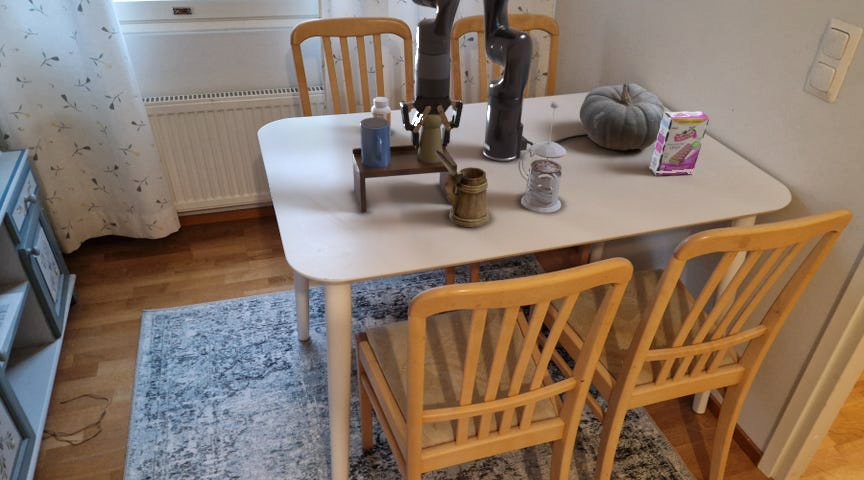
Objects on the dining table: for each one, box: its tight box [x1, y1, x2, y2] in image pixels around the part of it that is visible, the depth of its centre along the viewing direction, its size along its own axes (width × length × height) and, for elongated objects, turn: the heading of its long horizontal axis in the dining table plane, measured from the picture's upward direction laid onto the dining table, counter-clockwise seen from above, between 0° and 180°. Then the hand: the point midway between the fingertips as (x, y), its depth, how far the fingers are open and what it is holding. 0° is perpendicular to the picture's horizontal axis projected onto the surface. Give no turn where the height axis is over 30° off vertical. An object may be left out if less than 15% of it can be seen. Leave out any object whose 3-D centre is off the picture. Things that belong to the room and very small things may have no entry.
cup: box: [359, 117, 391, 167], centre depth 139 cm, size 6×8×9 cm
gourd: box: [579, 82, 665, 151], centre depth 183 cm, size 25×25×17 cm
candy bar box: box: [648, 110, 710, 177], centre depth 168 cm, size 11×5×16 cm, turn 104°
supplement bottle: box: [370, 96, 392, 134], centre depth 178 cm, size 5×5×10 cm
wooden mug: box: [435, 150, 490, 228], centre depth 138 cm, size 9×14×18 cm, turn 120°
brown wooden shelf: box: [351, 144, 458, 214], centre depth 146 cm, size 22×10×11 cm, turn 108°
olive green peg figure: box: [417, 113, 443, 163], centre depth 143 cm, size 6×6×11 cm
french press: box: [518, 101, 567, 214], centre depth 146 cm, size 10×12×25 cm
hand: (430, 145), depth 144 cm, fingers open, 6 cm apart
